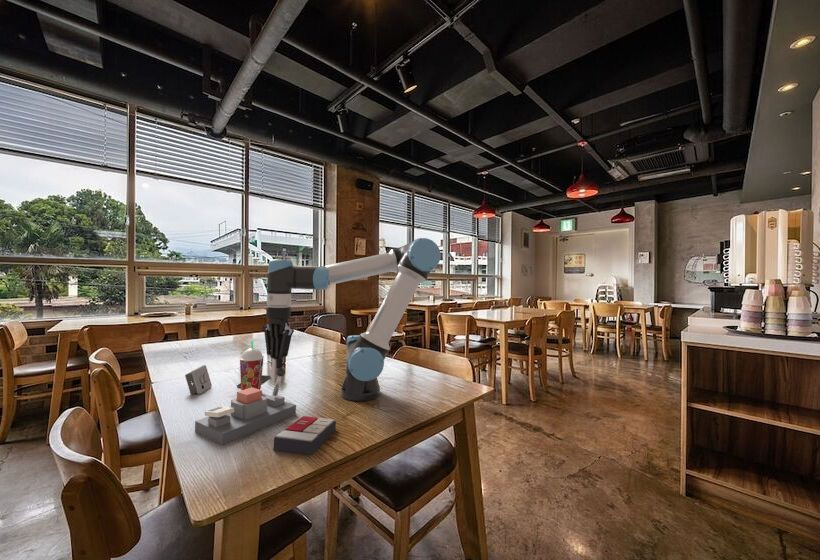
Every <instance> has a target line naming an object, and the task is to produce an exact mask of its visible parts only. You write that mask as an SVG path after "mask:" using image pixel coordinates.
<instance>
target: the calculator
mask: <svg viewBox="0 0 820 560" xmlns="http://www.w3.org/2000/svg"><path fill="white" fill-rule="evenodd" d="M336 428H337V421H336V420H335V419H332V418H324V417H319V418H318V417H316V416H315V417H314V416H306V415H305V416H304V415H303V416H302V417H300V418H299V419H298V420H296V421H295V422H293V423H291V424H289V425H288V426H287V427H286V428H285V429H284V430H282V431H281V432H280V433H278V434H276V435H275V436H274V437H273V452H274V451H275V452H280V453H288V454H293V455H294V454H295V455H303V456H311V457H312V456H313V455H314V454H315V453H316V452H317V451H318V450H319V449H320V447H321V446H322V445H323V444H324V443H325V442H326V441H327V440H328V439H329V438H330V437H331V436H332V435H333V433H334V432H336Z"/></svg>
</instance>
